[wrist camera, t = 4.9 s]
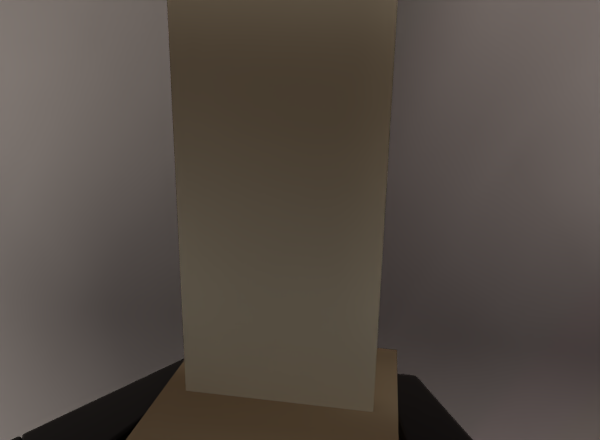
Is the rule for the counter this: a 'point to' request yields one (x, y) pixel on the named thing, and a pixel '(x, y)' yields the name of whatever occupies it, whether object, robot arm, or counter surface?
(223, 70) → the beige long block
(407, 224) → the counter surface
